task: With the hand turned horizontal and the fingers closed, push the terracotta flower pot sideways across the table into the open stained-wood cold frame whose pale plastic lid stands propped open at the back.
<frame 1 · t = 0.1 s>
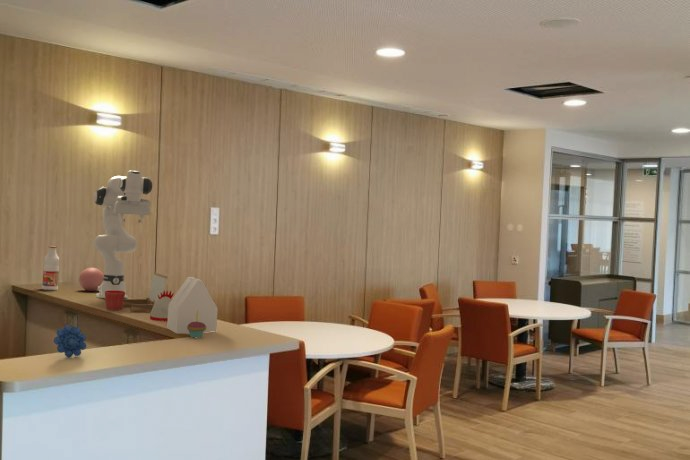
hand: (131, 222, 394), 48 cm above the countertop, tool pointing down, fingers open, 8 cm apart
cold frame: (139, 308, 382), on the countertop
milk carton: (191, 330, 325), on the countertop
flower pot: (113, 309, 375), on the countertop
frame lid: (157, 287, 387), point 12 cm above the countertop, hinge at 100.0°
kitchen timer: (163, 319, 353), on the countertop
blue flower: (69, 358, 250), on the countertop
cupcake: (196, 337, 308), on the countertop
fruit juice: (50, 289, 440), on the countertop
pink egg shape: (94, 291, 447), on the countertop
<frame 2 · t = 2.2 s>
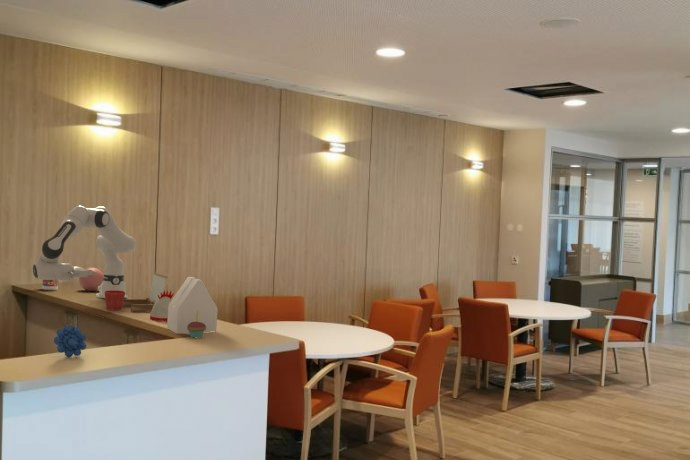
hand: (93, 272, 368), 20 cm above the countertop, tool horizontal, fingers open, 6 cm apart
nothing on the countertop moved.
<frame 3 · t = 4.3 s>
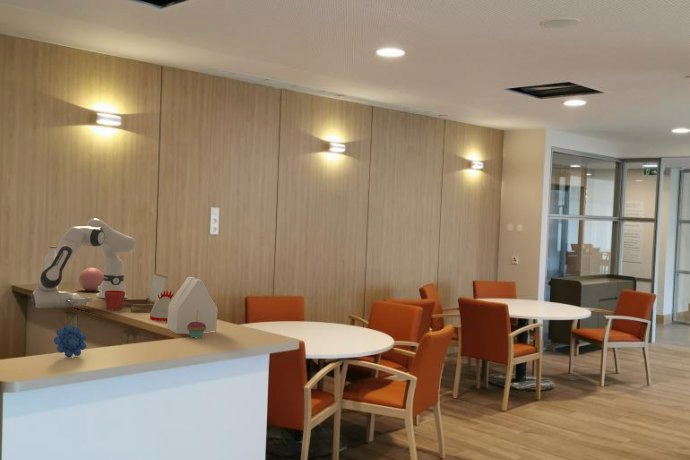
hand: (91, 299, 368), 5 cm above the countertop, tool horizontal, fingers closed
nothing on the countertop moved.
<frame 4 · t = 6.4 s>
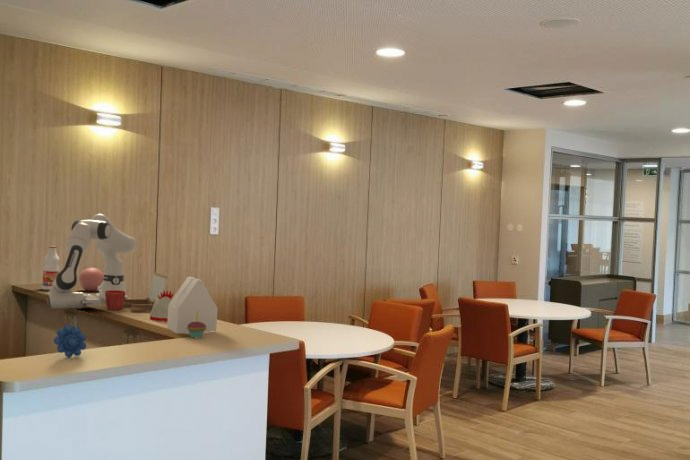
hand: (105, 300, 373), 5 cm above the countertop, tool horizontal, fingers closed, pressing on flower pot
flower pot: (114, 309, 375), on the countertop, touching gripper
everything else where it was.
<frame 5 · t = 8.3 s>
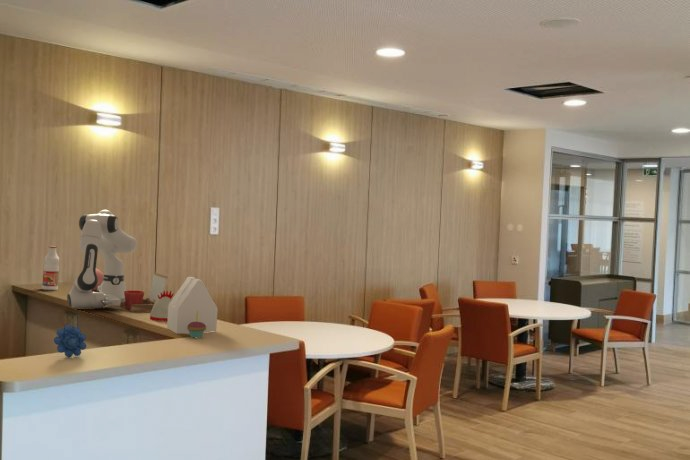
hand: (124, 300, 378), 5 cm above the countertop, tool horizontal, fingers closed, pressing on flower pot
flower pot: (133, 309, 380), resting in cold frame, touching gripper
everything else where it was.
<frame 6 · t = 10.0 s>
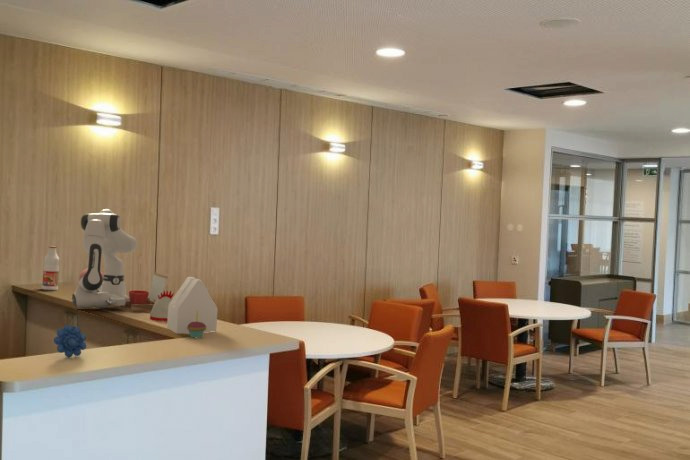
hand: (129, 299, 379), 5 cm above the countertop, tool horizontal, fingers closed
flower pot: (137, 309, 382), resting in cold frame
everything else where it was.
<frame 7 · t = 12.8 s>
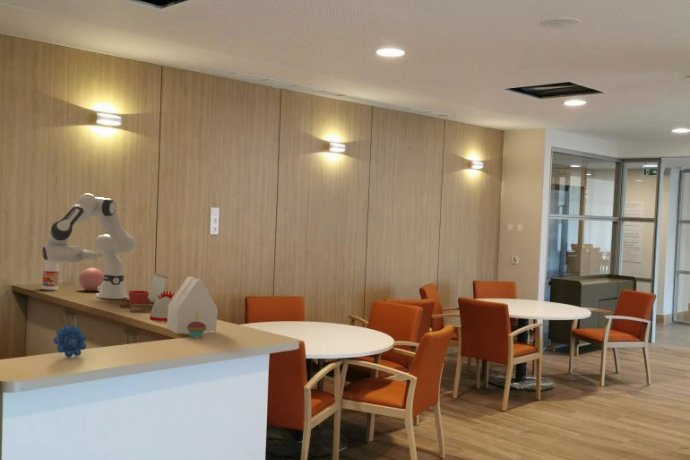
hand: (102, 255, 370), 30 cm above the countertop, tool horizontal, fingers closed
nothing on the countertop moved.
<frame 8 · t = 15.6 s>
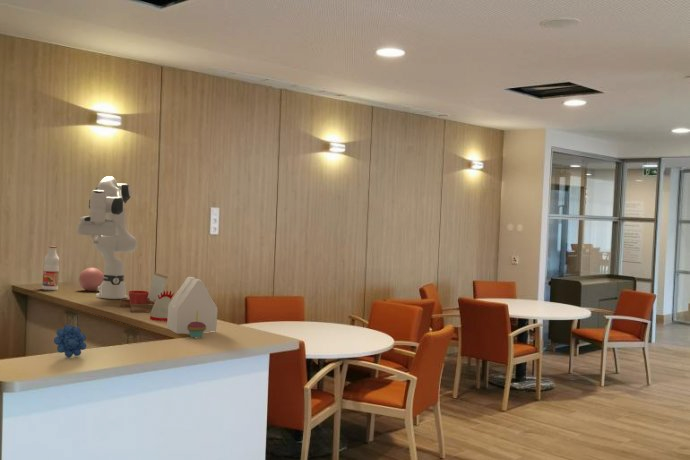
hand: (95, 243, 381), 35 cm above the countertop, tool pointing down, fingers closed
nothing on the countertop moved.
at the end: flower pot inside the target area on the cold frame (1.2 cm from its centre), point 0.0 cm above the cold frame's base; flower pot tilted 0° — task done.
